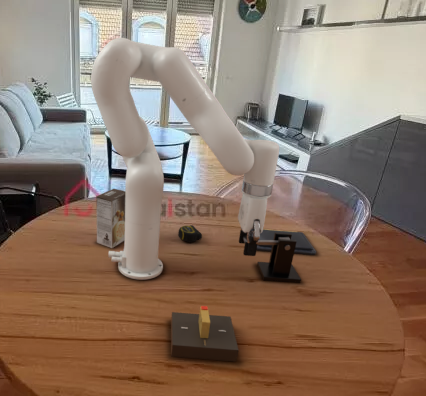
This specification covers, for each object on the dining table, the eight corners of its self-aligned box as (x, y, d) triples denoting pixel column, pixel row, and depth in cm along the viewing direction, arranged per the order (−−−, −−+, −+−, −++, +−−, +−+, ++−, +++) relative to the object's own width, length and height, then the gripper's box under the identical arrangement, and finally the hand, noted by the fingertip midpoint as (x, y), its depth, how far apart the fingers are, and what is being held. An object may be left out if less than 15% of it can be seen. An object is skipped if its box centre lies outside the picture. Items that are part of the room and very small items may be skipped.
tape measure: (202, 242, 119) (203, 232, 118) (182, 245, 117) (183, 234, 116) (193, 233, 125) (194, 223, 124) (174, 235, 123) (175, 225, 122)
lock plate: (171, 356, 73) (172, 344, 72) (170, 322, 83) (171, 311, 82) (236, 361, 73) (238, 349, 72) (228, 327, 82) (230, 315, 81)
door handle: (246, 251, 99) (247, 243, 98) (242, 241, 104) (242, 233, 103) (292, 251, 98) (293, 243, 97) (285, 241, 103) (286, 233, 103)
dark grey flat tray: (253, 244, 115) (246, 224, 130) (252, 250, 116) (245, 229, 130) (318, 251, 114) (304, 229, 128) (317, 256, 114) (303, 234, 128)
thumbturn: (208, 338, 74) (210, 321, 73) (200, 337, 74) (202, 320, 73) (205, 321, 79) (208, 305, 78) (198, 321, 79) (200, 305, 78)
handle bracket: (263, 280, 100) (270, 242, 96) (256, 265, 108) (263, 229, 104) (300, 283, 100) (309, 245, 96) (291, 267, 107) (299, 231, 103)
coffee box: (113, 232, 123) (114, 187, 117) (129, 237, 120) (130, 192, 114) (96, 243, 116) (95, 195, 110) (112, 249, 113) (113, 200, 107)
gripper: (236, 177, 103) (228, 234, 110) (249, 199, 87) (238, 264, 94) (263, 178, 103) (253, 235, 110) (281, 201, 87) (268, 266, 94)
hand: (246, 248), depth 102 cm, fingers closed on door handle, 6 cm apart
